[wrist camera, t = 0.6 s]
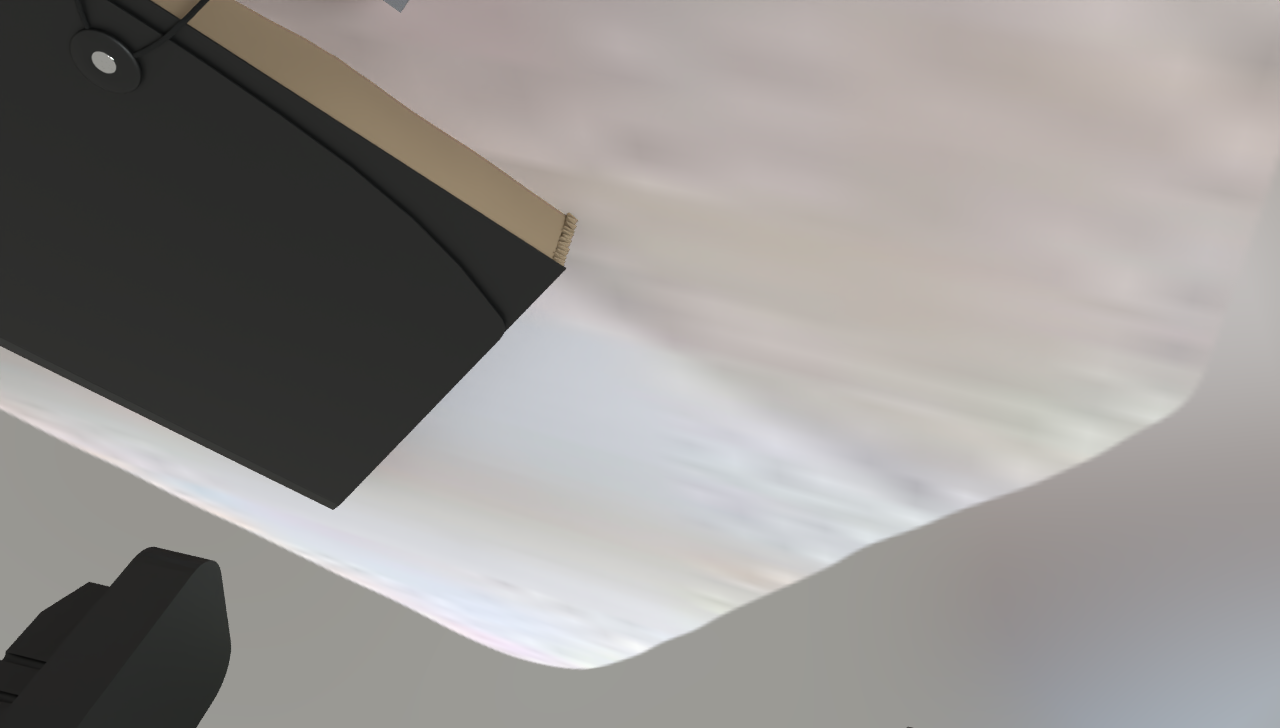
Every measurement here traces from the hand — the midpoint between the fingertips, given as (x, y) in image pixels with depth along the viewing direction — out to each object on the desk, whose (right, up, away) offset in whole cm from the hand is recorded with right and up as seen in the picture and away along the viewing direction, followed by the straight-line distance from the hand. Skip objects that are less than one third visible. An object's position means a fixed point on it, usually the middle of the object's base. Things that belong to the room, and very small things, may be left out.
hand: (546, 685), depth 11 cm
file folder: (-21, +12, +29) cm, 38 cm away
